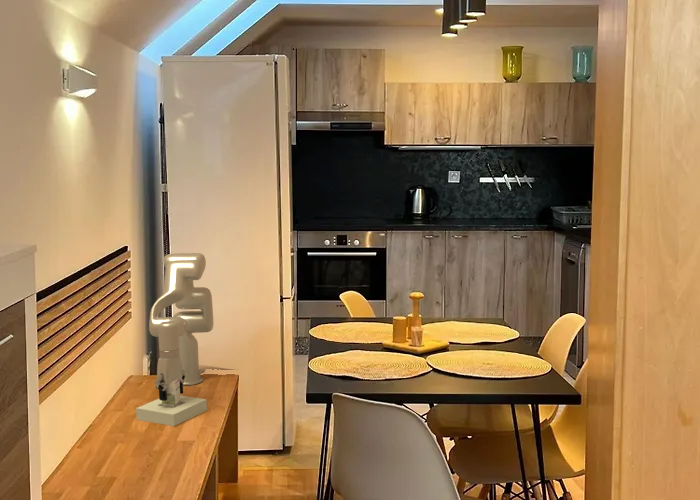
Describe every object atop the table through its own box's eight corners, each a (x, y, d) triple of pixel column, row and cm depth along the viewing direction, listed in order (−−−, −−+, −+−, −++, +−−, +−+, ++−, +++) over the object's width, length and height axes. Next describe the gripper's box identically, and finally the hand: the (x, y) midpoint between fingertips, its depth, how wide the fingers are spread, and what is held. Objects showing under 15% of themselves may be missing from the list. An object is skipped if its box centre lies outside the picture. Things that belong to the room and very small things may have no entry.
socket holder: (170, 404, 328) (170, 393, 327) (206, 410, 320) (206, 399, 319) (136, 419, 310) (136, 408, 310) (173, 426, 302) (173, 414, 302)
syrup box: (181, 412, 318) (179, 376, 316) (176, 417, 312) (174, 381, 310) (167, 412, 318) (165, 376, 317) (162, 417, 313) (160, 380, 311)
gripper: (176, 347, 321) (178, 389, 324) (146, 357, 306) (148, 401, 308) (191, 349, 318) (193, 391, 320) (162, 359, 303) (164, 404, 305)
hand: (171, 396), depth 314 cm, fingers open, 9 cm apart
